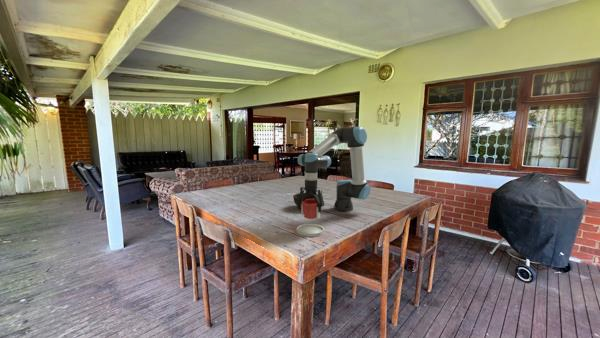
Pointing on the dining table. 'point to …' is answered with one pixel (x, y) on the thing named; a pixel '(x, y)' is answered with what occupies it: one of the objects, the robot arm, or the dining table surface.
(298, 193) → the bowl
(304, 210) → the flower pot
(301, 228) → the saucer
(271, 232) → the dining table surface
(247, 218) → the dining table surface
